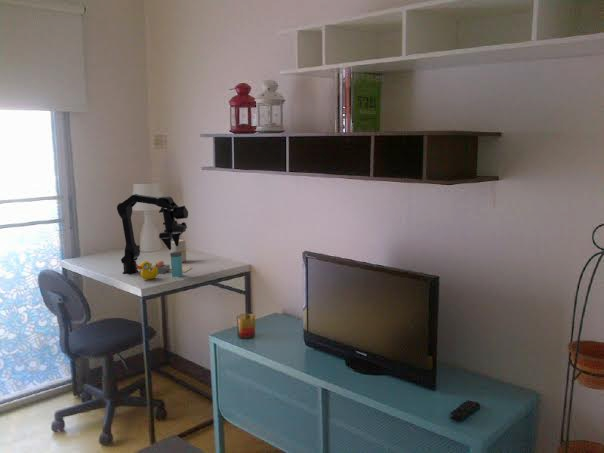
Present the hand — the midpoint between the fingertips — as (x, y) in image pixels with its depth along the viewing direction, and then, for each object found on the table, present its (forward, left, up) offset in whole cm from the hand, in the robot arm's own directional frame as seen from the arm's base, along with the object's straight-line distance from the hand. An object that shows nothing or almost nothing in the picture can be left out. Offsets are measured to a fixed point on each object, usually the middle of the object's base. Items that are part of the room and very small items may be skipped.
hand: (173, 247), depth 302 cm
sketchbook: (-1, +9, -15) cm, 17 cm away
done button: (-11, +5, -12) cm, 17 cm away
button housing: (-11, +5, -15) cm, 19 cm away
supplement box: (-9, +27, -15) cm, 32 cm away
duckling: (-10, -13, -15) cm, 22 cm away
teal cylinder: (+3, -4, -15) cm, 16 cm away
